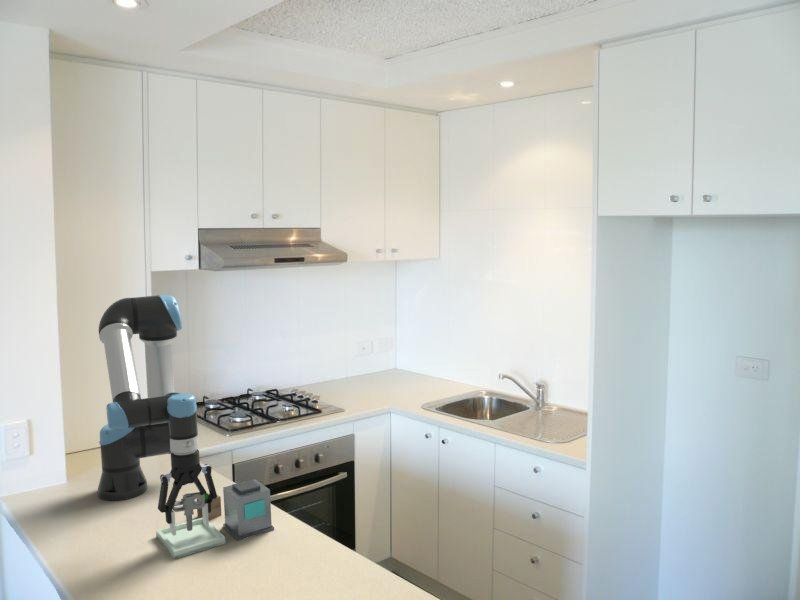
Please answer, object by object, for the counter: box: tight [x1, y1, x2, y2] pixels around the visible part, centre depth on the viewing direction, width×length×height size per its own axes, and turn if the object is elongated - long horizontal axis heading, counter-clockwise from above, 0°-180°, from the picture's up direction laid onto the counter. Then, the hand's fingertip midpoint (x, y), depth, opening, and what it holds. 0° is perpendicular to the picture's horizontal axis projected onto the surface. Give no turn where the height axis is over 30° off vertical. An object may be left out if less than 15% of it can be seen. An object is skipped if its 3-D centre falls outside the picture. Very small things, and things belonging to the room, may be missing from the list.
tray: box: [155, 517, 226, 560], centre depth 197 cm, size 16×14×2 cm
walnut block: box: [195, 492, 222, 521], centre depth 213 cm, size 5×5×6 cm
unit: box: [222, 479, 275, 542], centre depth 204 cm, size 11×11×13 cm
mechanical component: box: [172, 491, 208, 531], centre depth 197 cm, size 3×10×10 cm, turn 111°
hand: (189, 528), depth 197 cm, fingers closed on mechanical component, 9 cm apart
